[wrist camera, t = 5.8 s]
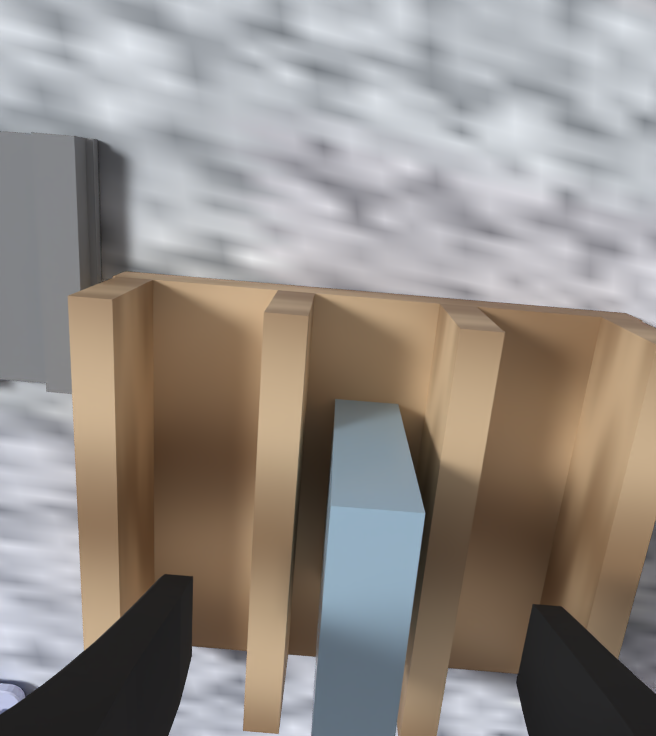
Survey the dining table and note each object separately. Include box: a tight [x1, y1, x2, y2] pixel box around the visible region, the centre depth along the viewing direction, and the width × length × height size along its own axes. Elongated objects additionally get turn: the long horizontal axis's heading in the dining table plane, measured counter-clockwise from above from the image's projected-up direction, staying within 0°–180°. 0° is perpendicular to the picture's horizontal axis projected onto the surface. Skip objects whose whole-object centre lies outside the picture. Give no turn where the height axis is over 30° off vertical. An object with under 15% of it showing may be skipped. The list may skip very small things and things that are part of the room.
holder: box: [0, 131, 102, 394], centre depth 17 cm, size 7×5×1 cm
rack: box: [68, 271, 656, 736], centre depth 17 cm, size 12×14×4 cm
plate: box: [311, 399, 425, 736], centre depth 15 cm, size 6×2×6 cm, turn 176°
